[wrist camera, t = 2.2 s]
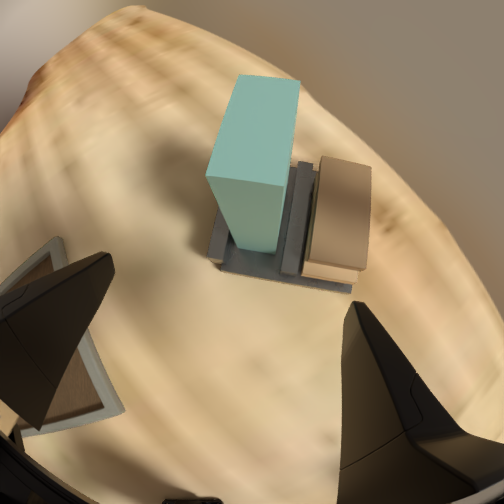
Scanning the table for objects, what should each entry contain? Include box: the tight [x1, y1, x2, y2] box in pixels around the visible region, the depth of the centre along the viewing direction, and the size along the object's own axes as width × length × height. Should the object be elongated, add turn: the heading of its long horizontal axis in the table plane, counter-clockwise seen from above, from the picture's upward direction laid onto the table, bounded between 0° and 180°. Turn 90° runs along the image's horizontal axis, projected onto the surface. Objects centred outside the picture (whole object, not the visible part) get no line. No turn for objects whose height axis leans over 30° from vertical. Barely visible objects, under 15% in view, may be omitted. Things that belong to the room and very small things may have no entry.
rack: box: [207, 161, 352, 294], centre depth 21 cm, size 10×11×3 cm
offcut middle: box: [301, 172, 358, 284], centre depth 20 cm, size 8×4×1 cm, turn 169°
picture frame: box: [0, 237, 125, 438], centre depth 21 cm, size 19×2×30 cm
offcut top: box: [307, 156, 371, 272], centre depth 19 cm, size 8×4×1 cm, turn 169°
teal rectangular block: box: [205, 75, 300, 255], centre depth 16 cm, size 6×3×12 cm, turn 169°
